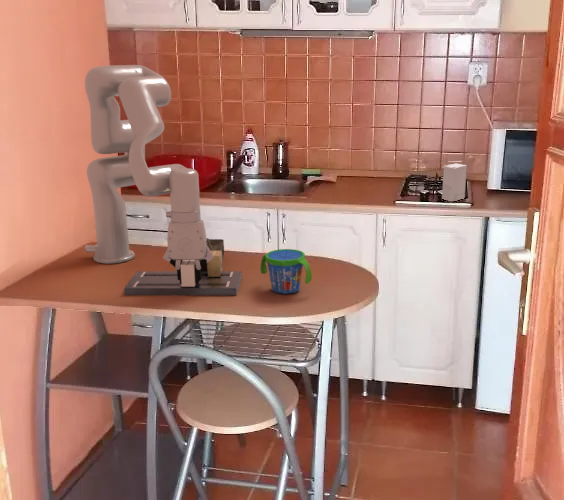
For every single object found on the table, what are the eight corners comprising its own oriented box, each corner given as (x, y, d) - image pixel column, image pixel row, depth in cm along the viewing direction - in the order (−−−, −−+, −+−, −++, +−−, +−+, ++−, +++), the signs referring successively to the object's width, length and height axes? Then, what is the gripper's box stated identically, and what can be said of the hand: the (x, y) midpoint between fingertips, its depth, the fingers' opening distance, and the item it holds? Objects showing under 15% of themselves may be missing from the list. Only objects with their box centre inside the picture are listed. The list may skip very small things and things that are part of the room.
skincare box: (453, 197, 290) (455, 162, 285) (465, 200, 285) (467, 164, 281) (441, 200, 285) (442, 165, 280) (452, 203, 280) (455, 167, 276)
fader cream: (181, 286, 182) (180, 264, 180) (185, 280, 187) (183, 259, 185) (194, 286, 182) (193, 264, 180) (197, 280, 186) (196, 258, 185)
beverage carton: (225, 256, 215) (224, 236, 213) (219, 276, 197) (218, 254, 195) (200, 256, 215) (199, 236, 213) (191, 277, 197) (190, 255, 195)
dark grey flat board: (124, 295, 183) (123, 287, 182) (137, 278, 196) (136, 271, 195) (236, 295, 181) (236, 287, 181) (241, 277, 195) (241, 270, 194)
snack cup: (251, 288, 186) (250, 253, 183) (278, 279, 193) (277, 244, 190) (294, 302, 176) (293, 264, 173) (320, 291, 183) (320, 255, 180)
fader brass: (207, 276, 189) (206, 255, 187) (210, 270, 194) (209, 250, 192) (220, 276, 189) (219, 255, 187) (222, 270, 194) (221, 250, 192)
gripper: (151, 219, 175) (156, 287, 181) (215, 219, 175) (218, 287, 180) (157, 213, 183) (162, 277, 188) (219, 212, 182) (222, 277, 187)
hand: (189, 281), depth 184 cm, fingers closed on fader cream, 3 cm apart
